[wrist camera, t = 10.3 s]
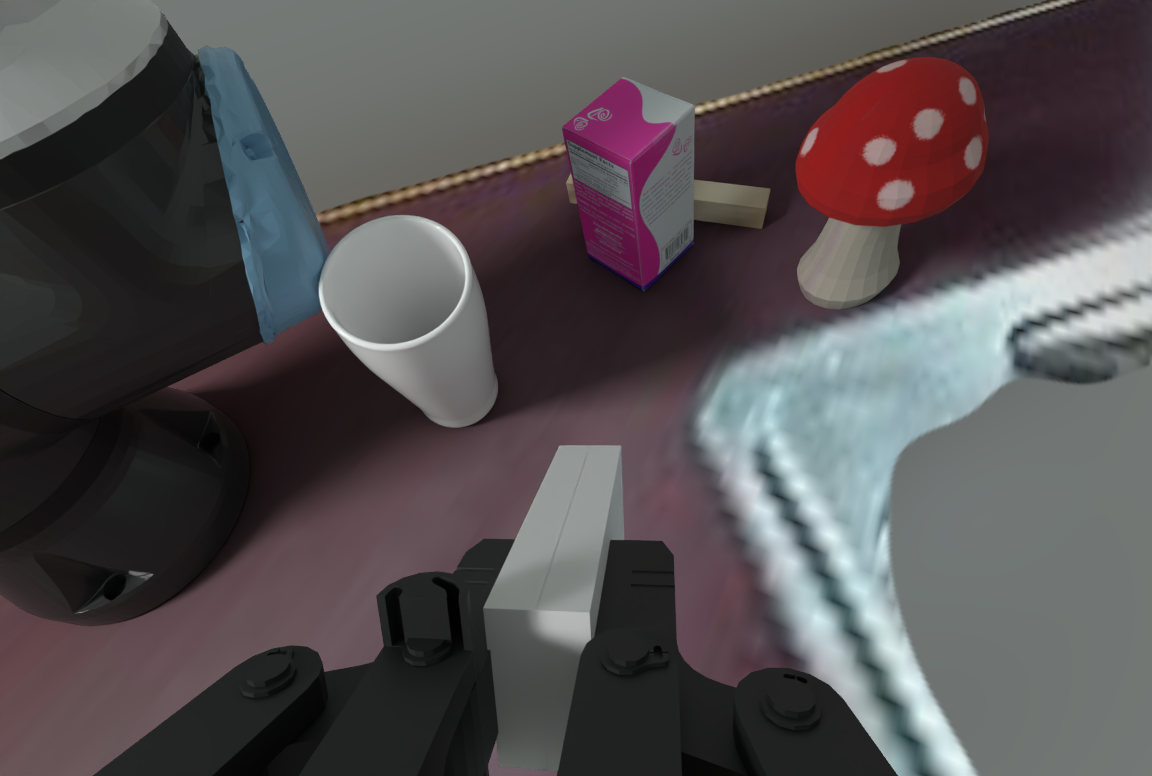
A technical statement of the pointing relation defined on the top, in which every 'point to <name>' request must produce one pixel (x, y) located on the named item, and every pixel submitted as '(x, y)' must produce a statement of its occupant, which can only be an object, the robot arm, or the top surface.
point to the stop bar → (721, 203)
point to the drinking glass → (414, 315)
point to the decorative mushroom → (886, 171)
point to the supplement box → (634, 179)
